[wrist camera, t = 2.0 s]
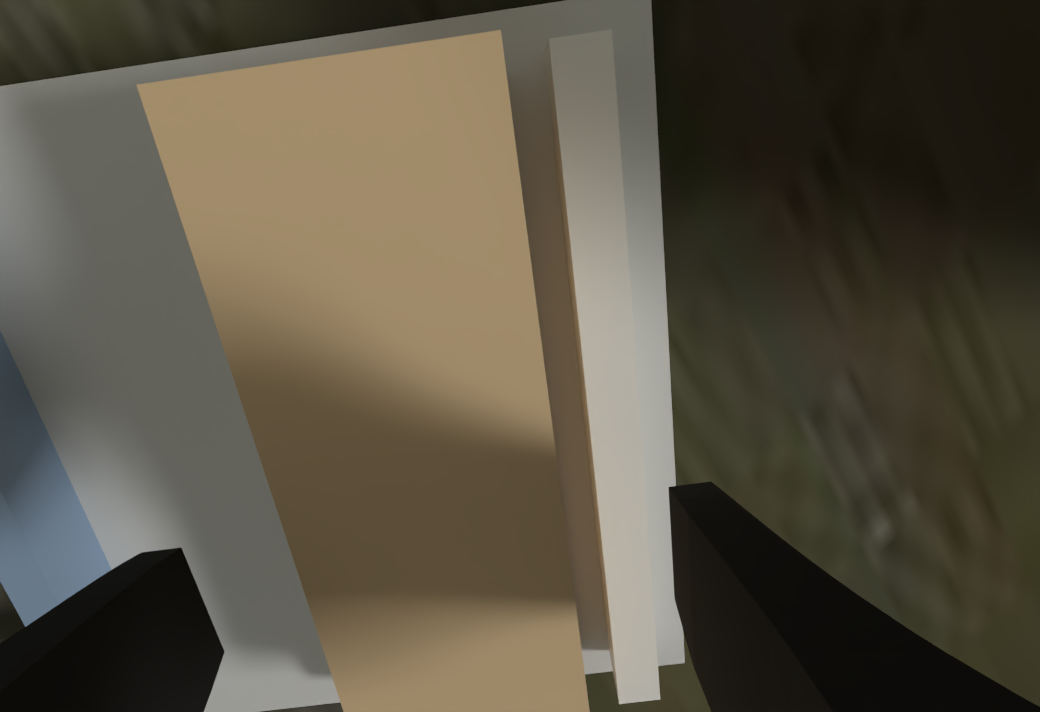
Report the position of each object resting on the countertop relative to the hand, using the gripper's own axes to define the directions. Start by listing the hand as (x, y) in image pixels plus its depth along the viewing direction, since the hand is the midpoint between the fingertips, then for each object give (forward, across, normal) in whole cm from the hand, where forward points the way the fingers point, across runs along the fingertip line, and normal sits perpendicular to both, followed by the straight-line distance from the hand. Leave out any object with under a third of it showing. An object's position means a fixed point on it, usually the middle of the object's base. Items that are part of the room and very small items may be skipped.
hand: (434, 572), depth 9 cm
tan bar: (+5, 0, 0) cm, 5 cm away
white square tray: (+6, +3, 0) cm, 6 cm away
